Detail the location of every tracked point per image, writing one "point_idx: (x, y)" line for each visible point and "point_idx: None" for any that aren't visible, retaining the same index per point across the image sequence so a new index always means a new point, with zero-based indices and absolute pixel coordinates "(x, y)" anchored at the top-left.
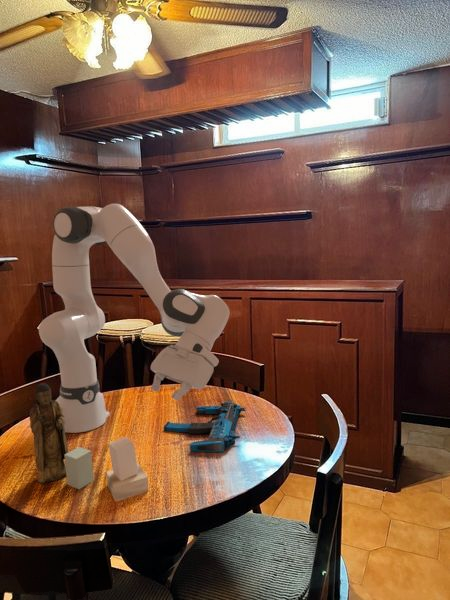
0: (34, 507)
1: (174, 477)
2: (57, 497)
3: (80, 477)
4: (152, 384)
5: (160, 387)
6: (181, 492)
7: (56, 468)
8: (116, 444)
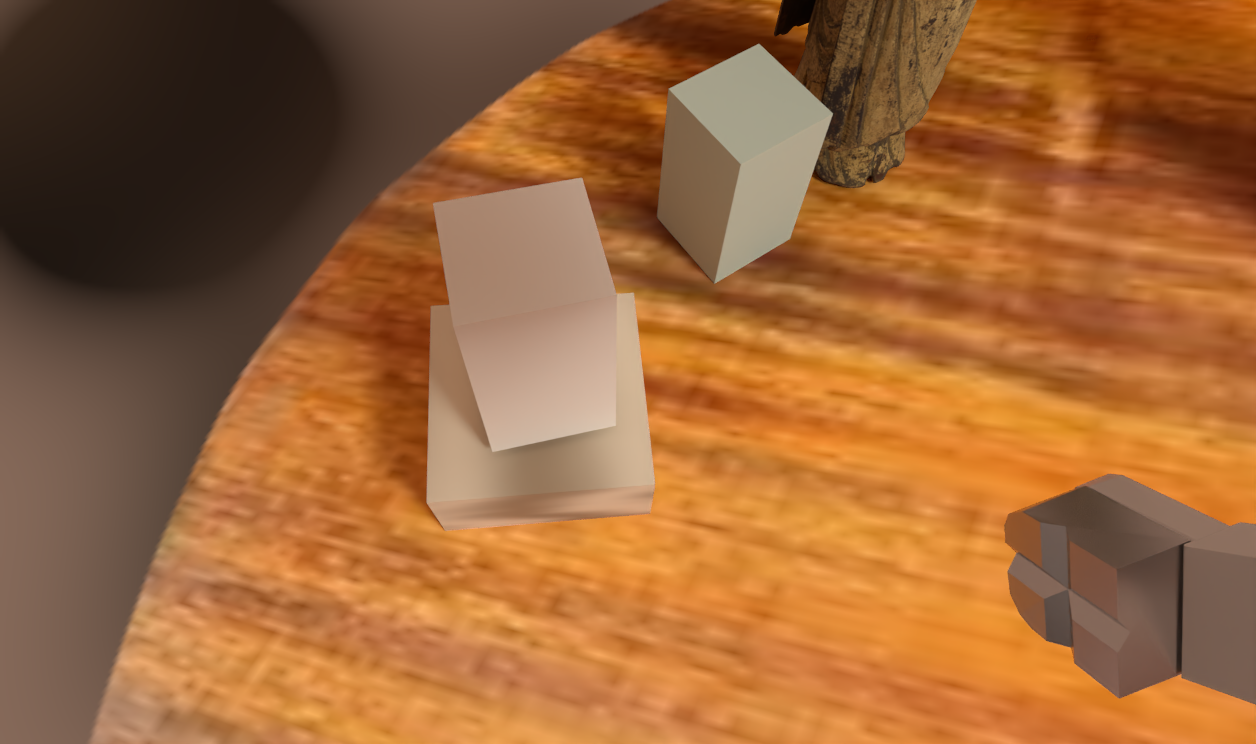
0: (600, 64)
1: (507, 738)
2: (633, 136)
3: (669, 188)
4: (1166, 499)
5: (1103, 684)
6: (306, 727)
7: (820, 101)
8: (523, 217)
